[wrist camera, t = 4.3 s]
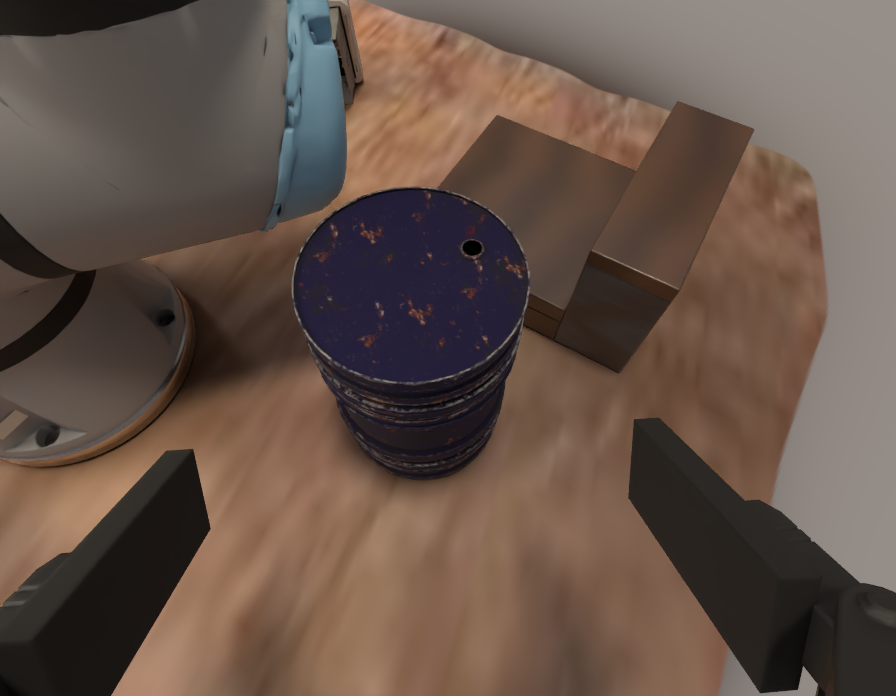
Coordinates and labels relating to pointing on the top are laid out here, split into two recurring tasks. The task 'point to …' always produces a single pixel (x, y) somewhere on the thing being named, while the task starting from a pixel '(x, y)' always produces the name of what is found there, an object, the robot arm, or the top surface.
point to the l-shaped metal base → (603, 222)
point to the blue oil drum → (414, 323)
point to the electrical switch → (345, 47)
